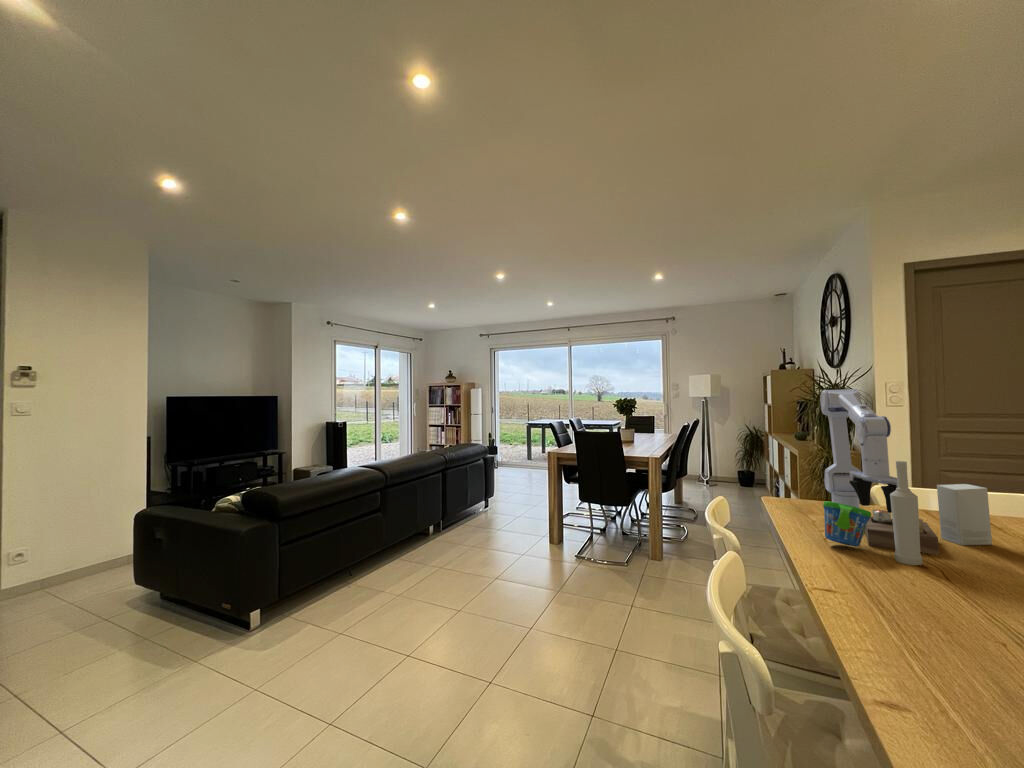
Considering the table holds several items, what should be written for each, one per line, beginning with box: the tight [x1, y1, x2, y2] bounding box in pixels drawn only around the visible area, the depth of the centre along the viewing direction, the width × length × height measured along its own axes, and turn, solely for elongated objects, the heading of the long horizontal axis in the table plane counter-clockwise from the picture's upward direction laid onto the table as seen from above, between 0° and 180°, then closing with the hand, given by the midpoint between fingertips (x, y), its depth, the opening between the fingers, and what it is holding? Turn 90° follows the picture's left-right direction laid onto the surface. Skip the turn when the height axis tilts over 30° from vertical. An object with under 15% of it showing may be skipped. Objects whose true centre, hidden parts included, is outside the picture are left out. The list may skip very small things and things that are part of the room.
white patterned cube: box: [872, 509, 892, 525], centre depth 124 cm, size 4×4×4 cm
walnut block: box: [864, 516, 940, 556], centre depth 120 cm, size 16×14×4 cm
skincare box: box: [936, 483, 993, 546], centre depth 118 cm, size 8×7×16 cm
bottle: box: [890, 460, 923, 566], centre depth 106 cm, size 5×5×25 cm
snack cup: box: [822, 501, 872, 548], centre depth 117 cm, size 16×10×10 cm
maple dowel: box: [919, 518, 924, 533], centre depth 116 cm, size 4×4×4 cm
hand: (878, 508), depth 117 cm, fingers open, 7 cm apart
